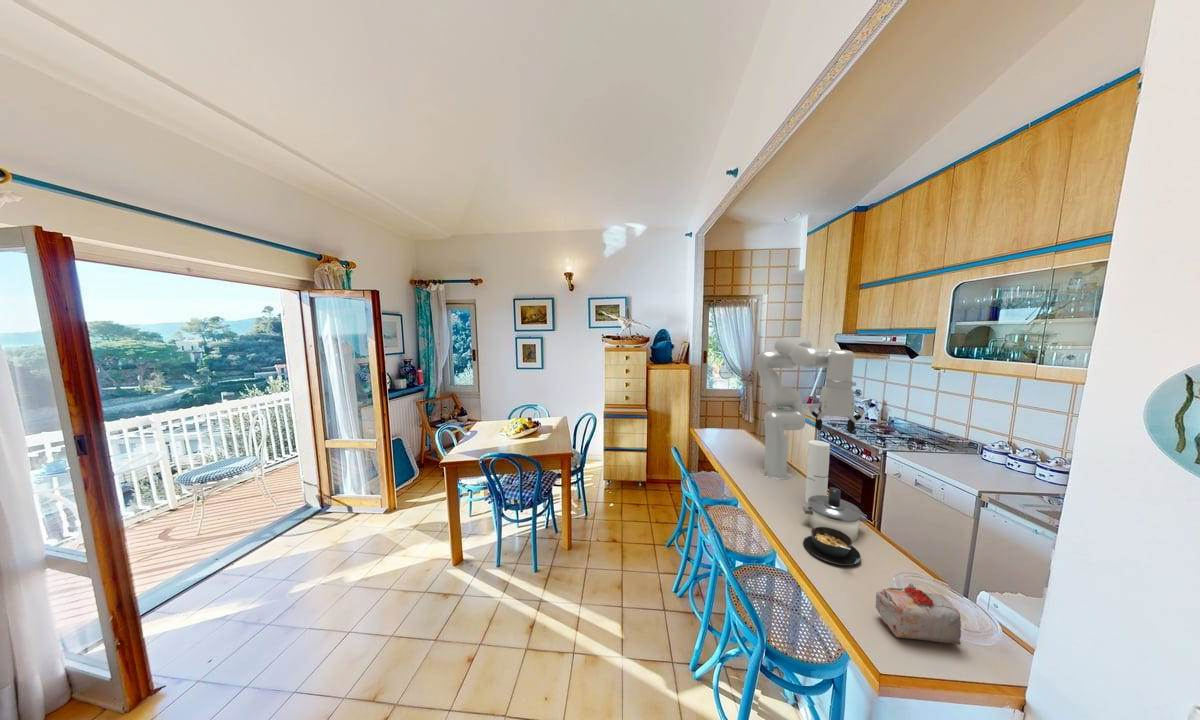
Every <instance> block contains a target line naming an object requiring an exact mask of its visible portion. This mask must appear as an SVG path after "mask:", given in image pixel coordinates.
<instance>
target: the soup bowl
mask: <svg viewBox="0 0 1200 720" xmlns="http://www.w3.org/2000/svg"><path fill="white" fill-rule="evenodd" d="M810 532H811V534H810V535H808V536H805V537H804V538H803V540H802V544H803V546H804V548H805V549H806V550H807V551H808V552H809V553H810V554H812V555H813V556H815V557H816V558H817V559H821V560H823V561H824V562H827V563H831V564H834V565H839V566H852V565H855V564H856V565H857V564H859V563H861V560H862V555H861V553H860V552H859V550H858V549H857V548H856V547H854V546H853V545H852V544H853V541H852V540H851V538H850V537H849V536H848V535H846V534H844V533H843V532H841V531H838V530H836V529H832V528H827V527H816V528H814V529H813V528H811V531H810Z"/></svg>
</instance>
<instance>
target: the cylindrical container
mask: <svg viewBox="0 0 1200 720" xmlns="http://www.w3.org/2000/svg"><path fill="white" fill-rule="evenodd" d="M807 442H808V447H807V462H806V463H807V465H806V476H805V477H806V480H805V496H804V497H805V499H804V500H805V503H806V504H808V499H809V498H810V497H811V496H816V495H824V496H828V483H829V469H830V467H829V466H830V451H831V444H830V443H828V442H826V441H822V440H817V439H816V440H815V439H813V440H812V439H811V440H808V441H807Z"/></svg>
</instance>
